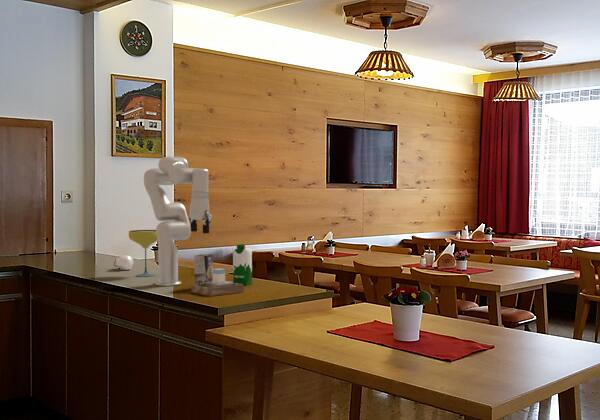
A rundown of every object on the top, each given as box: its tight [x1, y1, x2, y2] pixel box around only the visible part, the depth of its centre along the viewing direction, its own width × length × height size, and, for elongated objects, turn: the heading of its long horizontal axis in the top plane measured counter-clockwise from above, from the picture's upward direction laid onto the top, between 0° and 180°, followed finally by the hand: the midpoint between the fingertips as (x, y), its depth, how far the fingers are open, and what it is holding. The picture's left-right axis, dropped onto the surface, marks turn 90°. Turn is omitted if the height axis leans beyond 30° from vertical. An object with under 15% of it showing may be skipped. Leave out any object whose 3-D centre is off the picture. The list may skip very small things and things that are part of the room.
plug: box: [213, 268, 227, 283], centre depth 309 cm, size 4×4×10 cm
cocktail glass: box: [128, 229, 158, 278], centre depth 371 cm, size 18×18×25 cm
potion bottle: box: [113, 254, 134, 271], centre depth 401 cm, size 9×10×15 cm
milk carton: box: [232, 244, 253, 287], centre depth 334 cm, size 9×9×20 cm
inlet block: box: [206, 280, 233, 288], centre depth 309 cm, size 9×9×4 cm
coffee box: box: [194, 253, 214, 285], centre depth 322 cm, size 9×6×16 cm
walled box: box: [190, 283, 245, 297], centre depth 308 cm, size 16×18×4 cm
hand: (199, 232), depth 310 cm, fingers open, 9 cm apart
